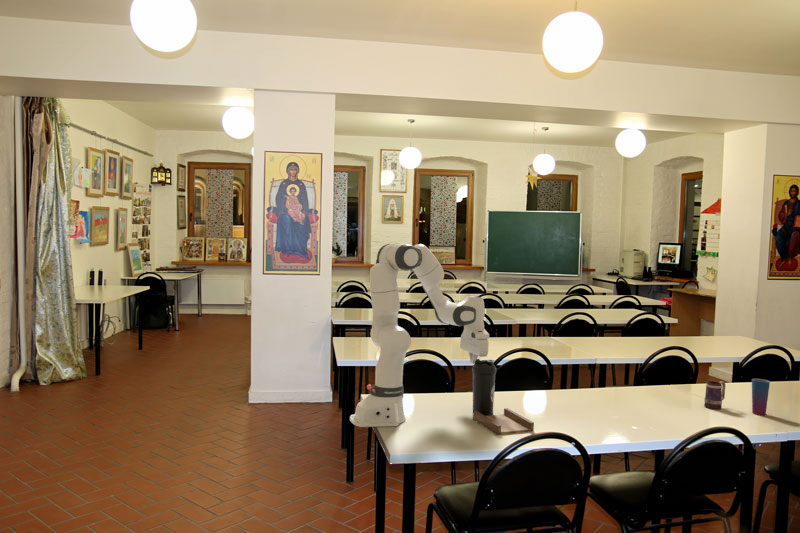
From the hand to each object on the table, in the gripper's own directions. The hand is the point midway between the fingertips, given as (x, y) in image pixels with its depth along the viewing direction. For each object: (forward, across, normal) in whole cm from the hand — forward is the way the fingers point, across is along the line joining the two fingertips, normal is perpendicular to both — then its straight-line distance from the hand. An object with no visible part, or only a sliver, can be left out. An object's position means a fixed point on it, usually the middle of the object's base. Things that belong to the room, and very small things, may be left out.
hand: (473, 362), depth 253 cm
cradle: (+20, +27, 0) cm, 33 cm away
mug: (+20, +30, +110) cm, 116 cm away
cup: (+20, +43, +121) cm, 130 cm away
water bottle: (+20, +10, 0) cm, 22 cm away
